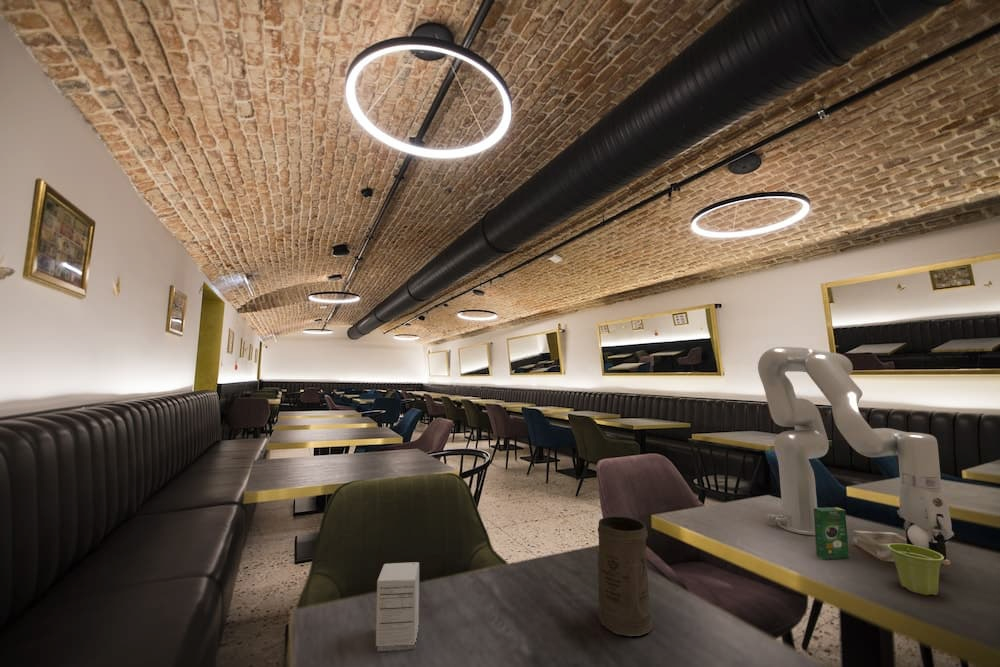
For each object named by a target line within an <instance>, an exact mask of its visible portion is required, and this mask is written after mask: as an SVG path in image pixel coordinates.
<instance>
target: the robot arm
mask: <svg viewBox="0 0 1000 667" xmlns="http://www.w3.org/2000/svg"><path fill="white" fill-rule="evenodd" d="M853 370H854V369H853V363H852V362H851V360H850V358H848V357H847V356H845V355H843V354H841V353H838V352H837V353H836V352H830V351H824V350H819V349H814V348H808V347H797V346H796V347H795V346H793V347H792V346H791V347H790V346H778V347H773V348H769V349H768V350H766V351H765V352H764V353H762V355H760V358H759V360H758V362H757V371H758V375H759V379H760V381H761V383H762V384H761V385H762V386H763V390H764V393H765V394H764V395H765V398H766V401H767V402H766V403H767V405H768V409H769V412H770V416H771V418H772V421H773V422H774V423H775V424H776V425H778V426H780V427H786V428H787V427H794V430H787V431H786V430H785V431H782V432H780V433H779V434H778V435H776V436H775V439H774V441H773V446H774V447H773V448H774V452H775V455H776V460H777V463H778V471H779V485H780V496H781V509H782V510H779V512H777V513H767V514H766V518H767V520H768V521H775V523H776V522H777V525H778V527H779V528H781V529H783V530H786V531H787V532H792V533H795V534H799V535H805V536H815V522H814V508H818V503H817V502H818V500H817V490H816V487H817V486H816V479H815V472H814V469H813V467H812V464H811V463H810V461H809V460H812V459H819V458H822V457H824V456H825V455H826V454H828V451H829V448H830V447H829V446H830V444H829V440H828V436H827V435H828V434H827V432H826V429H825V427H824V426H825V425H824V423H823V419H822V416H821V413H820V410H819V408H818V407H817V406H816V404H815V403H814V402H812V401H811V400H809V399H806V398H802V397H799V398H798V397H797V395H796V393H795V389H794V386H793V383H792V382H791V380H790V378H789V377H788V376H787V375H786V372H789V373H792V372H797V373H798V372H803V373H807V375H808V376H809V377H810V379H811V380H812V381H813V383H814V384H815V385H816V386H817V388H818V389H819V390H820V392H821V393H822V394H823V395H824V397H825V399H826V400H827V401H828V402H829V403H830V405H831V412H832V413H831V414H832V417H833V420H834V424H835V425H836V426H835V427H836V428H837V429H838V432H840V434H841V435H842V436H843V438H844V439H845V441H846V442H847V443H848V444H849V446H851V448H852V449H854V450H855V452H857V453H858V454H860V455H862V456H865V457H868V458H880V457H881V458H882V457H891V456H897V457H898V468H899V470H898V471H899V481H900V485H899V508H898V509H897V510H896V512H897V514H898V516H899V517H900V519H901V520H900V521H901V522H902V524H903V529H904V530H905V535H906V536H905V538H906V539H907V544H909V545H913V544H912V542H911V541H910V539H909V537H908V529H909V527H910V526H912V525H914V524H916V525H918V526H920V527H922V528H925V529H927V532H928V534H929V537H930V539H931V541H929V549H930V550H933V551H935V552H938V553H940V554H941V555H943V556H944V560H946V559H947V560H948V558H947V557H948V556H947V549H946V548H947V547H946V545H947V544H948V541H950V540H951V538H952V537H954V536H955V533H954V531H953V530H952V520H951V513H950V509H949V504H948V501H947V497H946V494H945V492H944V491H943V489H942V481H941V479H942V478H941V470H940V466H941V465H940V457H939V445H938V440H937V437H935V436H934V435H932V434H928V433H922V432H911V431H910V432H909V431H908V432H907V431H902V430H900V429H899V430H898V429H894V428H888V427H881V428H879V427H878V428H872V427H871V426H870V425H869V423H868V422H867V421H866V419H864V417H863V415H862V414H861V412H860V408H859V401H860V399H861V398H862V397H863V390H862V389H861V388H860V387H859V386H858V384H856V383H855V381H854V380H853V378H851V377H850V376H851V374H852V372H853ZM934 527H936V528H937V529H934ZM934 532H938V535H937V536H936V537H935V534H934Z"/></svg>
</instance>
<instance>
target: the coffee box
mask: <svg viewBox="0 0 1000 667" xmlns="http://www.w3.org/2000/svg"><path fill="white" fill-rule="evenodd" d="M846 514H847V513H846V509H844V508H841V507H837V506H834V507H831V506H830V507H828V506H827V507H817V508H814V522H815V535H814V536H815V538H814V539H815V551H816V557H818V558H820V559H822V560H834V559H835V560H836V559H837V560H839V559H849V558H850V554H849V543H848V542H849V541H848V529H847V527H848V526H847V517H846Z"/></svg>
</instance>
